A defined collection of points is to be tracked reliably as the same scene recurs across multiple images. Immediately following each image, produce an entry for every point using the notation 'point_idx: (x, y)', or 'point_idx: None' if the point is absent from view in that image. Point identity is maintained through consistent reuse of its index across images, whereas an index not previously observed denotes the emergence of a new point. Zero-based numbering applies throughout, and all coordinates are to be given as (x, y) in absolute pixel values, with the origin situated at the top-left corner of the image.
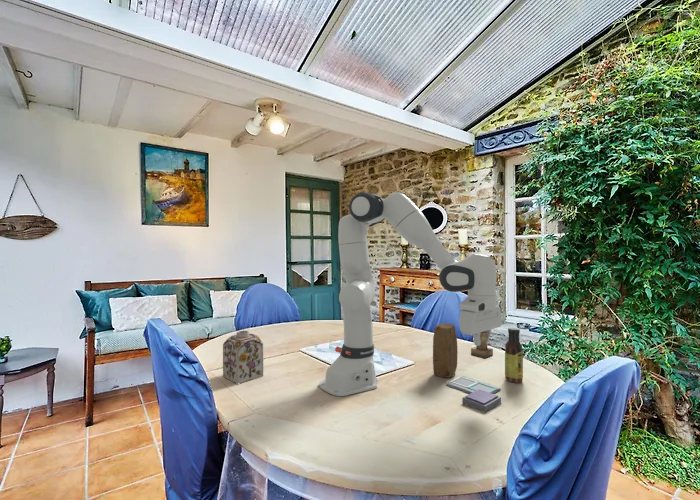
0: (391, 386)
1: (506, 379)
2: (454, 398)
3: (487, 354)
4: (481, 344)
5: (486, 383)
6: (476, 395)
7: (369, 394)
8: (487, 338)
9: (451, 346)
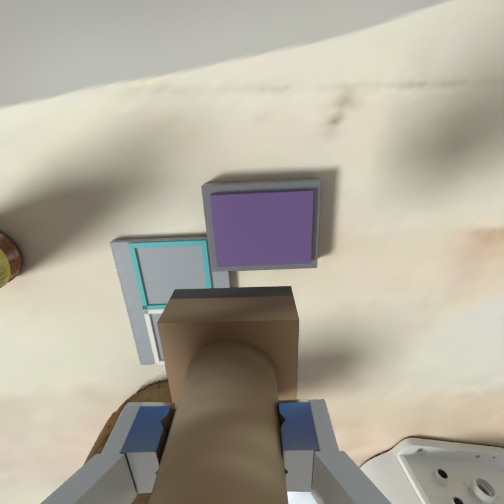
0: (366, 426)
1: (19, 270)
2: (301, 292)
3: (254, 302)
4: (280, 402)
5: (123, 290)
6: (274, 244)
7: (449, 425)
8: (145, 448)
9: (135, 499)
